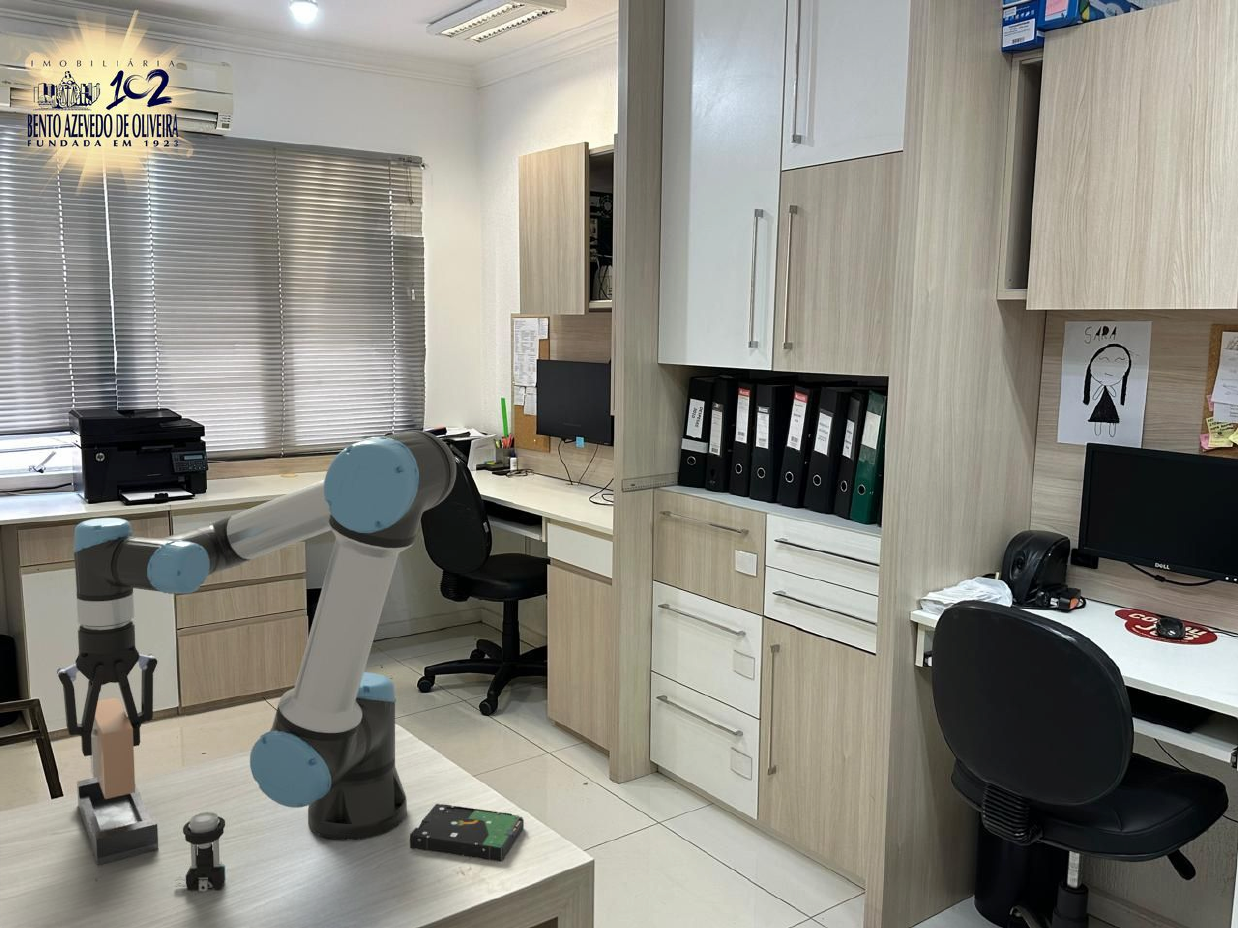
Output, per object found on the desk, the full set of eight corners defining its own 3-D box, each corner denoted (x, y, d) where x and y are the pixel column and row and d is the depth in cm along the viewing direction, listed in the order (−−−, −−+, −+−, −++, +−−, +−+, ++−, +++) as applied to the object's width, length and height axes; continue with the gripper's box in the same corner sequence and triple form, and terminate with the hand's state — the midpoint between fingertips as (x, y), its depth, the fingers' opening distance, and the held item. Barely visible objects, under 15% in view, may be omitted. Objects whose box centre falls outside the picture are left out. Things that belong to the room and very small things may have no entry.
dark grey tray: (158, 848, 144) (157, 823, 144) (97, 865, 140) (96, 838, 139) (133, 792, 161) (132, 769, 160) (78, 804, 156) (76, 781, 156)
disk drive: (408, 852, 146) (503, 864, 143) (408, 835, 146) (503, 846, 143) (435, 819, 156) (524, 829, 153) (435, 802, 156) (524, 812, 153)
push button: (170, 899, 132) (167, 829, 130) (181, 877, 137) (178, 810, 136) (222, 895, 133) (219, 827, 132) (231, 874, 138) (228, 807, 137)
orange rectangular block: (135, 792, 145) (132, 728, 143) (105, 798, 142) (102, 733, 141) (119, 756, 156) (117, 696, 155) (91, 762, 154) (88, 701, 152)
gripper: (163, 607, 154) (167, 748, 157) (37, 623, 144) (45, 773, 147) (173, 620, 148) (177, 766, 151) (42, 638, 138) (50, 793, 141)
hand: (112, 769), depth 149 cm, fingers closed on orange rectangular block, 4 cm apart
